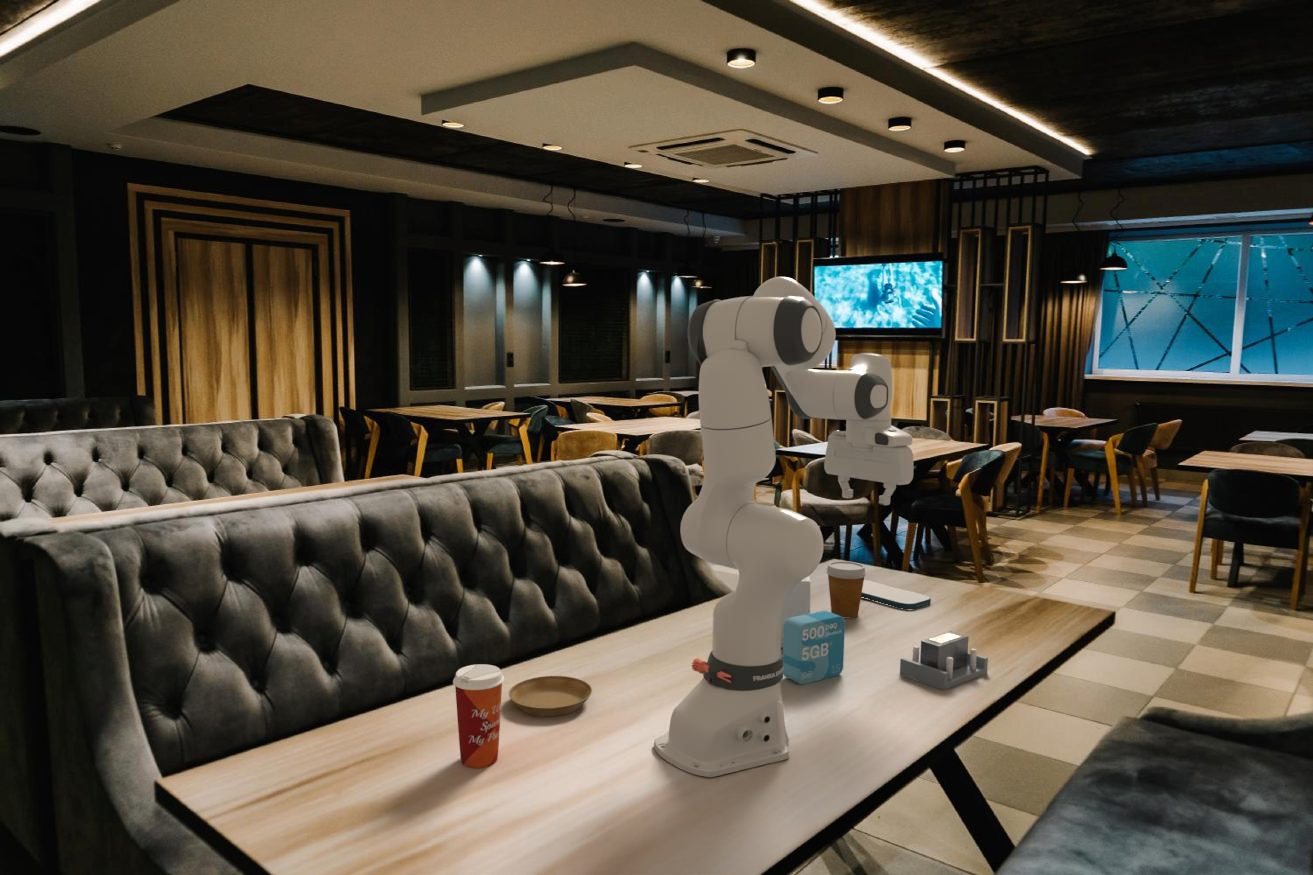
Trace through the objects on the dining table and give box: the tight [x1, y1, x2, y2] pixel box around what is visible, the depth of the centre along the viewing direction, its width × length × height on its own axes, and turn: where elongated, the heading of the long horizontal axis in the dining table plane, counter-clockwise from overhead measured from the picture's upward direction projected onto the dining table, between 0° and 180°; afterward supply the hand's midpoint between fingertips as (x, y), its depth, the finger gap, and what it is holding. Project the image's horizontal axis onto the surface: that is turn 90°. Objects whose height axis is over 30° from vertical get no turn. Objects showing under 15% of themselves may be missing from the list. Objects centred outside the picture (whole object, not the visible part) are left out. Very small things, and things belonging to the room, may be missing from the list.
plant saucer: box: [508, 675, 593, 717], centre depth 157 cm, size 15×15×3 cm
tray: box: [899, 645, 989, 691], centre depth 174 cm, size 15×10×5 cm
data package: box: [782, 610, 846, 685], centre depth 171 cm, size 12×4×12 cm, turn 122°
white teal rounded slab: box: [861, 579, 932, 610], centre depth 228 cm, size 24×12×2 cm, turn 39°
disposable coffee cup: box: [825, 560, 867, 619], centre depth 212 cm, size 10×10×12 cm
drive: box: [919, 631, 969, 672], centre depth 174 cm, size 10×4×6 cm, turn 128°
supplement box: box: [781, 574, 812, 649], centre depth 191 cm, size 9×9×15 cm
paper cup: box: [452, 663, 505, 769], centre depth 135 cm, size 8×8×14 cm
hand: (865, 501), depth 180 cm, fingers open, 8 cm apart
